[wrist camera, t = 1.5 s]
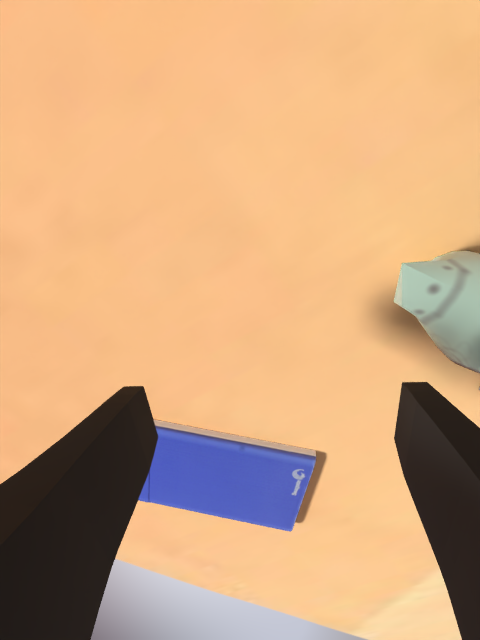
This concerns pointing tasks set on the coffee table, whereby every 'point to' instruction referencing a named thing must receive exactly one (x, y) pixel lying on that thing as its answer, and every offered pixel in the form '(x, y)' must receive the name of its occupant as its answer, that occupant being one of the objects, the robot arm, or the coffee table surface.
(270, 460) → the hard drive
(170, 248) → the coffee table surface
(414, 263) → the grey-green rounded piece
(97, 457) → the robot arm
